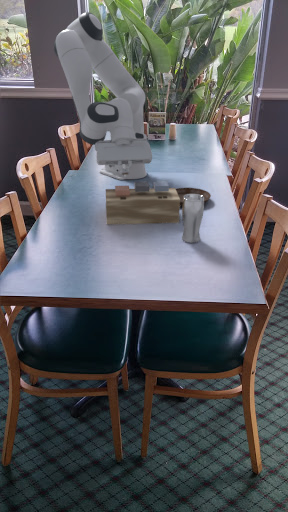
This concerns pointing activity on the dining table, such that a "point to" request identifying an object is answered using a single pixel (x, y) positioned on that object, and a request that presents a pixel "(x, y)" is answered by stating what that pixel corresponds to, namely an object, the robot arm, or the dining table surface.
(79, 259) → the dining table surface
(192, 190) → the plant saucer
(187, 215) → the beer glass
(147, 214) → the wooden key base
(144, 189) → the charcoal key
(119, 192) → the terracotta key
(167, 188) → the slate key
